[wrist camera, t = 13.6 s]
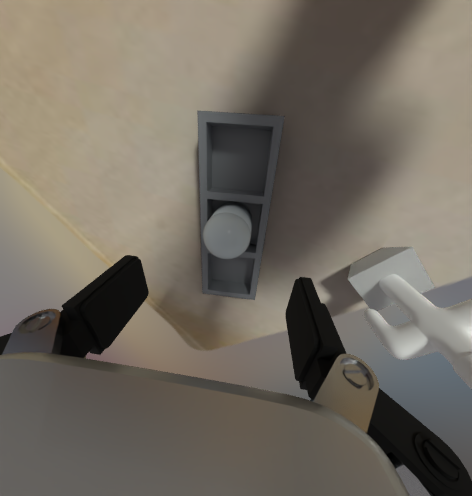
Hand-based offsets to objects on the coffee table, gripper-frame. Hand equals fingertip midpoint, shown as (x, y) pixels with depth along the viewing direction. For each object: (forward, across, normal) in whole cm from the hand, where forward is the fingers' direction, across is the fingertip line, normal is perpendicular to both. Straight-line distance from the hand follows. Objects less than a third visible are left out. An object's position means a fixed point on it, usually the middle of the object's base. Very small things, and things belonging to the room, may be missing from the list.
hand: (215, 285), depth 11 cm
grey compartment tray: (+14, 0, +1) cm, 14 cm away
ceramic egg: (+14, +1, +1) cm, 14 cm away
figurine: (+15, -20, +6) cm, 25 cm away
